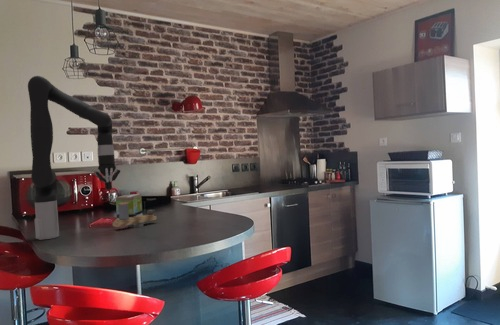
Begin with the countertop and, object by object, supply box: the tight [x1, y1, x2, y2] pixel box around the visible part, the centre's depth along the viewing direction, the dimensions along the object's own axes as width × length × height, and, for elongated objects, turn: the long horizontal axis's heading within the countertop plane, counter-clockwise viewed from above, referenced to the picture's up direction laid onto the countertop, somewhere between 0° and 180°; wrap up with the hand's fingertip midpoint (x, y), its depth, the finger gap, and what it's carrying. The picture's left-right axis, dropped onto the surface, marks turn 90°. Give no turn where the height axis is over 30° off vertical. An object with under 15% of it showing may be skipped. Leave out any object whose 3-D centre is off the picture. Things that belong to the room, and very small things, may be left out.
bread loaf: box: [112, 209, 157, 229], centre depth 200 cm, size 22×7×7 cm, turn 136°
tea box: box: [115, 193, 143, 220], centre depth 218 cm, size 15×10×15 cm
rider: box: [118, 202, 129, 220], centre depth 196 cm, size 3×4×9 cm
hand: (108, 189), depth 191 cm, fingers closed
